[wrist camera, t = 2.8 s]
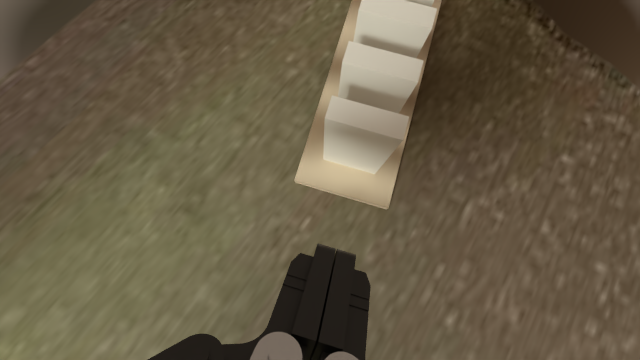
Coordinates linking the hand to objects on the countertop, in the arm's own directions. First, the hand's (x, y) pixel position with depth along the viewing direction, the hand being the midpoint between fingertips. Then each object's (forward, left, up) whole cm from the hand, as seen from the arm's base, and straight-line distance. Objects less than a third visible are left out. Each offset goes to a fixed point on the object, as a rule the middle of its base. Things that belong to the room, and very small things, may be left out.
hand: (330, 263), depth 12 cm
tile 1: (+2, -8, -16) cm, 18 cm away
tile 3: (+4, -16, -16) cm, 23 cm away
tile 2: (+3, -12, -16) cm, 20 cm away
